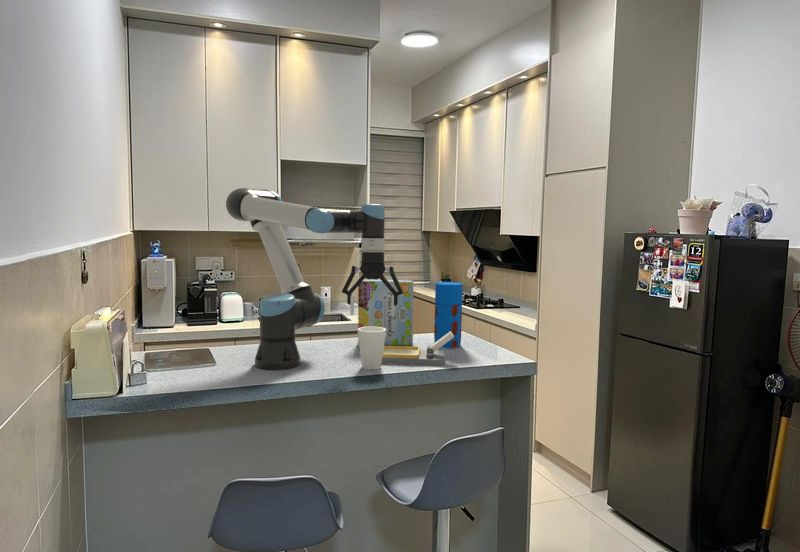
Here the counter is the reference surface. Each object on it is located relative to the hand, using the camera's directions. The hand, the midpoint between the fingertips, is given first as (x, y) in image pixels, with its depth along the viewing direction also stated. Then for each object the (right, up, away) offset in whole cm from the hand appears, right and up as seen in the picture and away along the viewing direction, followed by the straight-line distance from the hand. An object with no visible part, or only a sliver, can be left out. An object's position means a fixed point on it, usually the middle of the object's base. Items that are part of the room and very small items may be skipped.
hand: (372, 315), depth 180 cm
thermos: (+28, -15, +37) cm, 49 cm away
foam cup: (0, -18, +2) cm, 18 cm away
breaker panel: (+12, -17, +13) cm, 25 cm away
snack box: (+3, -14, +39) cm, 42 cm away
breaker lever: (+19, -14, +13) cm, 27 cm away
